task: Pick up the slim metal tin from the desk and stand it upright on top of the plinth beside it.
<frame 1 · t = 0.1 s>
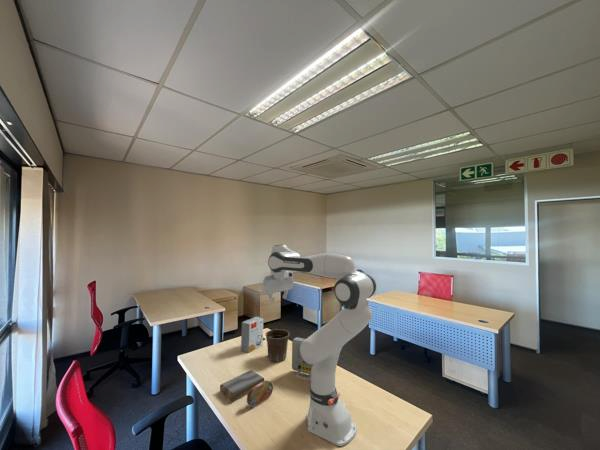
hand: (278, 299, 134), 48 cm above the table, tool pointing down, fingers open, 8 cm apart
plant pot: (277, 358, 167), on the table
network device: (312, 377, 145), on the table
hard drive box: (252, 347, 181), on the table
plinth: (242, 388, 134), on the table
tin: (259, 401, 123), on the table
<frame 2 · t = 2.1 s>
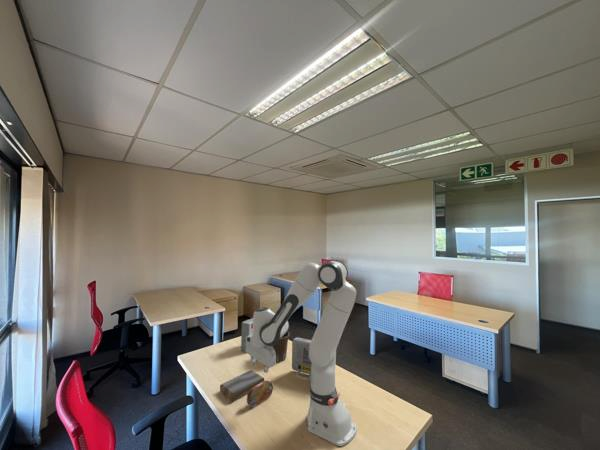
hand: (259, 368, 124), 16 cm above the table, tool pointing down, fingers open, 8 cm apart
nothing on the table moved.
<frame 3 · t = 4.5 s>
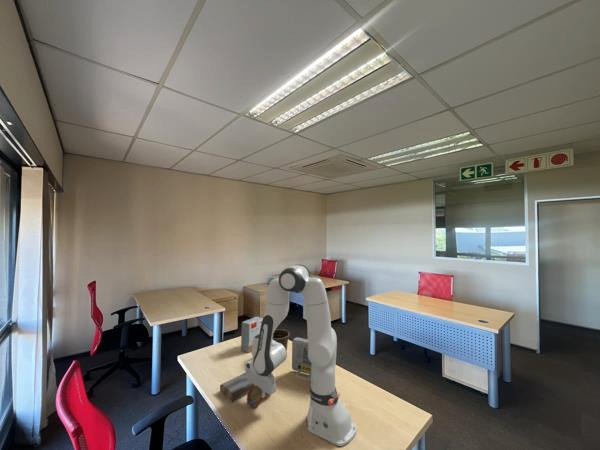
hand: (260, 395, 123), 3 cm above the table, tool pointing down, fingers closed on tin, 3 cm apart
tin: (259, 401, 123), on the table, touching gripper
everything else where it was.
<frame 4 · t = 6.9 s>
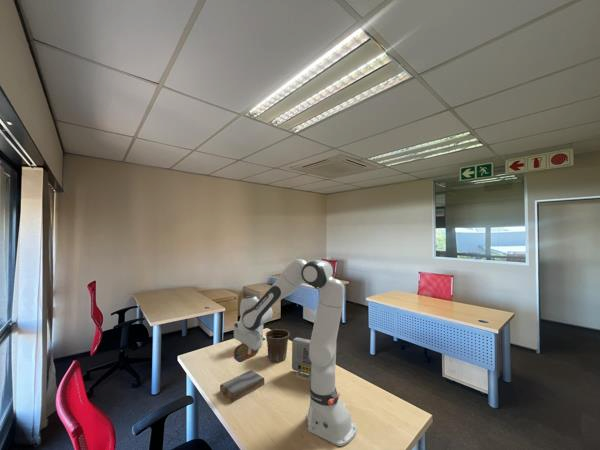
hand: (246, 352, 132), 20 cm above the table, tool pointing down, fingers closed on tin, 2 cm apart
tin: (245, 358, 132), point 17 cm above the table, touching gripper
everything else where it was.
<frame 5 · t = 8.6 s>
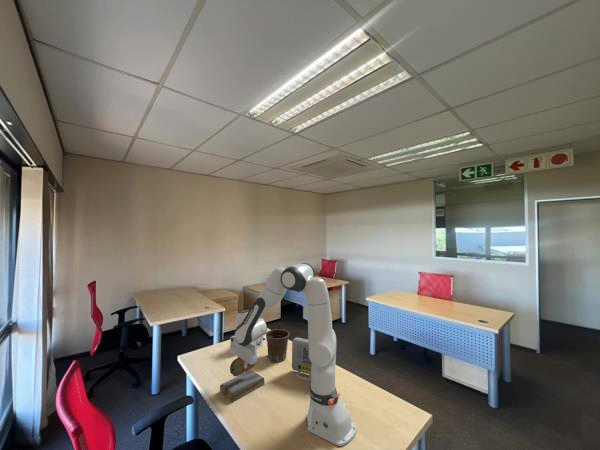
hand: (242, 366, 134), 12 cm above the table, tool pointing down, fingers closed on tin, 2 cm apart
tin: (242, 372, 134), point 8 cm above the table, touching gripper
everything else where it was.
when the fingers open (8 cm above the table, at t = 9.8 s): tin drops 1 cm, resting on plinth.
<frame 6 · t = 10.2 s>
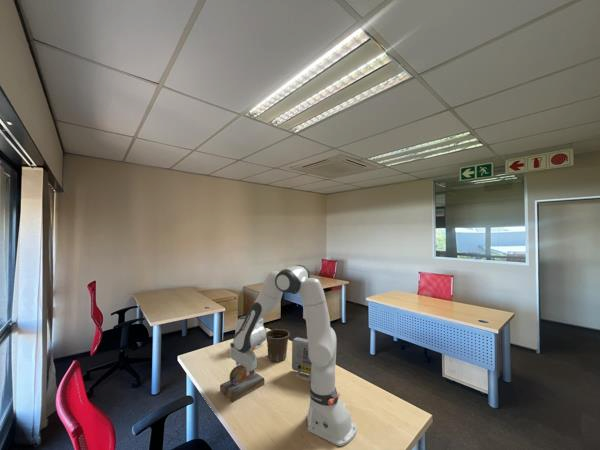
hand: (243, 372, 134), 9 cm above the table, tool pointing down, fingers open, 6 cm apart
tin: (242, 380, 134), point 4 cm above the table, touching plinth
everything else where it was.
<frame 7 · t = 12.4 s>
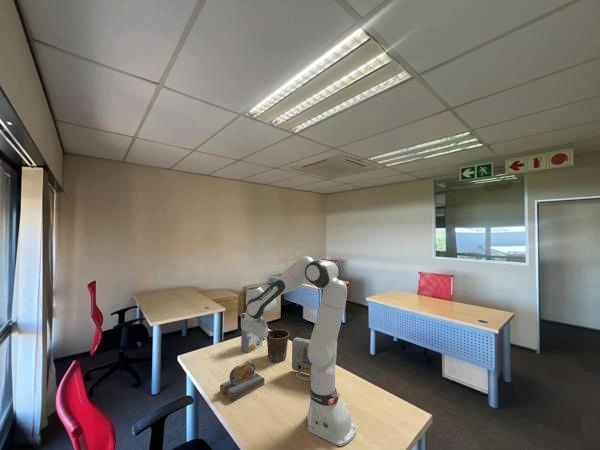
hand: (254, 341, 137), 24 cm above the table, tool pointing down, fingers open, 8 cm apart
nothing on the table moved.
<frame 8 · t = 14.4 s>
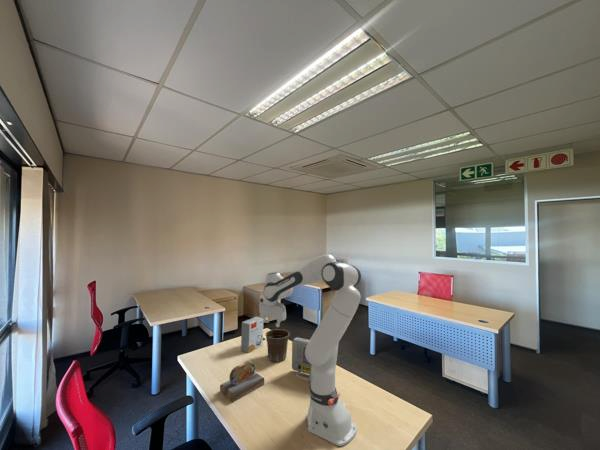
hand: (272, 324, 143), 31 cm above the table, tool pointing down, fingers open, 8 cm apart
nothing on the table moved.
at the end: tin inside the target area on the plinth (0.4 cm from its centre), point 3.8 cm above the plinth's base; tin tilted 0°; tin touching plinth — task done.
